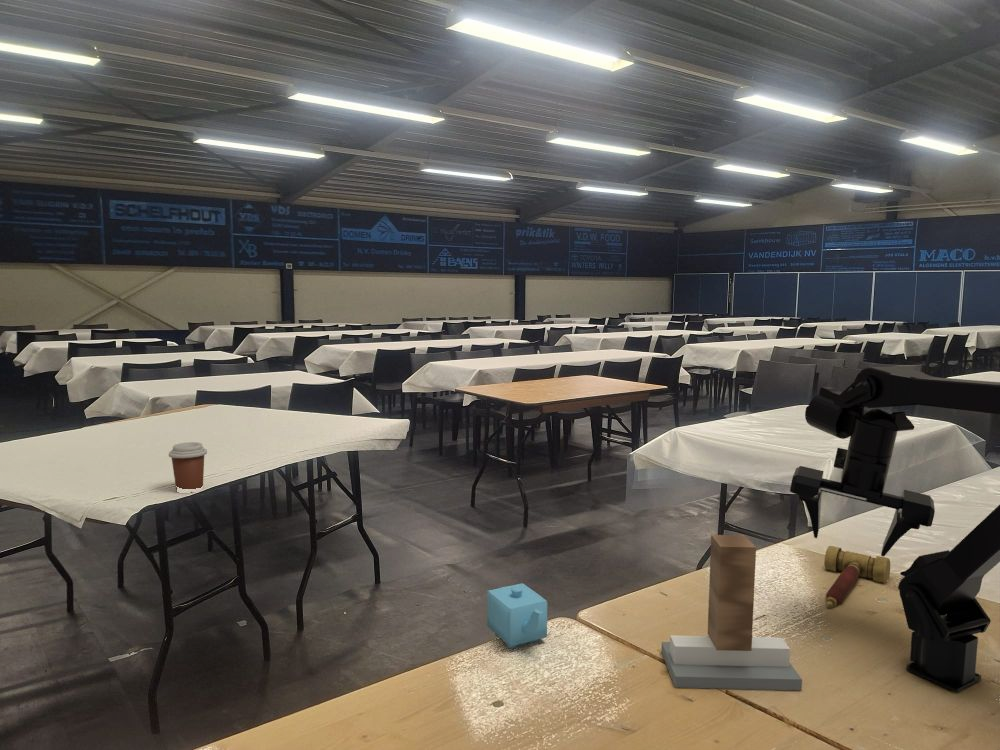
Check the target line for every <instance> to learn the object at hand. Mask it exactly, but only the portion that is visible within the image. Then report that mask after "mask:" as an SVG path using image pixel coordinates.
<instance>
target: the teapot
mask: <svg viewBox="0 0 1000 750" xmlns="http://www.w3.org/2000/svg"><path fill="white" fill-rule="evenodd" d="M486 593H487V600H486V601H487V604H486V605H487V607H486V609H487V611H486V614H487V615H486V618H487V619H486V624H487V625H486V626H487V627H488V628H489V629H491V631H492V632H493V633H495V634H494V636H495V637H498V638H500V639H501V640H502V641H503V642H504V643H505V644H506V647H507V648H509V649H515V648H517V646H519V645H523V644H526V643H536V642H539V640H541V639H545V638H547V636H548V601H547V600H546V599H545V598H544V597H542V596H541V595H540V594H539V593H537V592H536V591H534V590H533V589H532V588H531V587H529V586H527V585H526V584H524V583H522V582H521V583H517V584H512V585H508V586H501V587H499V588H495V589H490V590H487V591H486Z"/></svg>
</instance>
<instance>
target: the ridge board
mask: <svg viewBox="0 0 1000 750" xmlns="http://www.w3.org/2000/svg"><path fill="white" fill-rule="evenodd" d="M669 636H670V637H669V641H661V651H660V652H661V654H662V658H663V660H664V663H665V665H666V667H667V671H668V673H669V675H670V677H671V681H672V684H673V685H674V688H675V689H676V688H677V689H678V688H681V689H715V690H716V689H720V690H723V689H724V690H754V691H755V690H756V691H758V690H759V691H760V690H761V691H762V690H765V691H798V690H799V692H800V691H802V688H803V687H802V685H803V679H802V677H801V676H800V675H799V673H798V672H797V670H796V669H795V668H794V667H793V665H792V663H791V662H790V660H791V659H790V657H791V648H790V647H789V646H788V644H787V643H786V641H785V640H784V639H783V637H771V636H770V637H768V636H767V637H766V636H765V637H763V636H752V651H728V650H716V648H715V646H714V644H713V643H712V641H711V639H710V637H709V635H673V634H672V635H669Z"/></svg>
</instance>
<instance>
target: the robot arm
mask: <svg viewBox="0 0 1000 750" xmlns="http://www.w3.org/2000/svg"><path fill="white" fill-rule="evenodd" d="M903 406H926V407H935V408H942V409H950V410H960V411H967V412H975V413H976V412H977V413H986V414H992V415H993V414H994V415H1000V381H990V380H989V381H988V380H987V381H986V380H977V379H976V380H974V379H973V380H972V379H963V378H961V379H960V378H948V377H947V378H946V377H937V376H932V375H929V374H926V373H924V372H922V371H919V370H916V369H912V368H909V367H905V366H899V365H898V366H876V367H865V368H864V367H863V368H862V369H860V371H859V372H858V373H857V375H856V377H855V379H854V381H853V382H852V383H851V384H850V385H849V386H847V387H846V389H844V390H843V391H841V390H839V389H837V388H835V387H832V386H821V387H820V389H819V393H818V394H816V395H815V396H814V397H813V398H812V399H811V400H810V402H809V403H808V406H806V408H805V411H804V413H805V414H804V416H805V421H806V423H807V424H808V425H809V426H811V427H812V428H814V429H817V430H819V431H822V432H824V433H827V434H829V435H831V436H833V437H835V438H838V439H843V440H845V439H848V438H849V442H848V447H847V449H846V448H841V447H837V449H836V454H835V458H834V462H833V463H834V464H833V467H834V468H836V469H840V470H842V472H841V477H840V481H836V480H831V479H827V478H824V472H825V471H824V470H820V469H816V468H812V467H807V466H803V465H799V466H798V467H796V468H795V470H794V473H793V476H792V479H791V483H790V489H789V492H790V493H791V494H794V495H798V496H797V499H798V500H800V501H801V502H802V501H803V502H804V505H805V507H806V510H807V512H808V514H809V515H808V516H809V519H810V523H811V527H812V533H813V538H815V539H817V538H818V535H819V531H820V525H821V524H820V523H821V520H820V519H821V507H822V494H823V492H825V493H829V494H832V495H836V496H841V497H845V498H849V499H853V500H857V501H861V502H866V503H870V504H872V505H876V506H877V505H878V506H883V507H885V508H886V507H887V508H890V509H894V510H895V511H894V515H893V517H892V521H891V523H890V525H889V528H888V531H887V533H886V535H885V538H884V541H883V544H882V546H881V547H882V548H881V553H880V556H881V557H885V556H886V555H888V554H887V553H888V552H890V551H891V549H892V548H893V547H894V545H895V544H896V543H897V541H898V542H899V540H900V539H901V538H902V537H903V536H904V535H905V534H907V532H909V531H910V530H911V529H914V530H919V529H920V528H921V526H924V527H932V525H933V521H934V518H935V512H936V510H935V501H934V500H933V498H932V496H931V495H928V494H925V493H919V492H916V491H912V490H908V489H903V491H902V493H901V495H894V494H892V493H886V492H884V491H885V487H886V482H887V478H888V472H889V469H890V464H891V461H892V457H893V456H892V455H893V452H894V448H895V447H894V446H895V443H896V439H897V435H898V432H905V431H906V432H907V431H914V429H915V425H914V424H913V422H912V421H911V420H910V419H909V418H908V417H907V413H906V411H892V412H888V411H886V410H884V409H883V410H882V409H881V408H890V407H903ZM865 408H867V409H870V410H867V409H865ZM999 564H1000V504H999V505H997V507H995V508H994V509H993V510H992V511H991V512H990V513H989V514H988V515H987V516H986V517H985V518H984V519H983V520H982V521H980V523H978V524H977V525H976V526H975V527H974V528H973V529H972V530H971V531H970V532H969V533H968V534H966V535H965V537H964V538H963V539H962V540H960V541H959V542H958V543H957V544H956V545H955V546H954V547H953V548H952V549H951V550H949V549H947V550H942V551H937V552H932V553H927V554H922V555H919V556H917V557H916V559H915V560H914V561H913V563H911V565H910V567H909V568H908V569H906V570H904V571H900V573H899V575H900V576H903V577H902V578H901V579H900V581H899V582H898V586H897V589H898V591H899V596H900V599H901V603H902V608H903V611H904V617H905V620H906V624H907V628H908V629H909V630H911V631H912V632H911V637H910V639H911V640H910V651H909V652H910V653H909V660H910V662H911V663H908V664H906V665H905V669H906V670H907V671H908V672H911V673H913V674H915V675H917V676H919V677H921V678H924V679H926V680H927V681H929V682H932V683H934V684H936V685H939V686H940V687H943V688H945V689H947V690H949V691H951V692H955V693H958V692H960V691H962V690H964V689H965V688H968V687H970V686H972V685H973V684H975V683H977V682H979V681H982V675H981V674H979V673H977V672H976V668H977V657H978V656H977V654H978V643H979V642H978V641H979V637H978V636H976V635H977V634H980V633H981V634H982V633H985V632H986V631H987V629H988V627H989V626H990V624H991V621H992V620H991V618H990V617H989V615H988V614H987V612H986V611H985V610H984V608H983V607H982V605H981V604H980V603H979V600H977V598H976V597H977V595H978V594H979V592H980V591H981V586H982V582H983V578H984V577H985V575H987V574H988V573H989V572H990V571H991V570H992V569H994V567H996V566H997V565H999Z"/></svg>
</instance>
